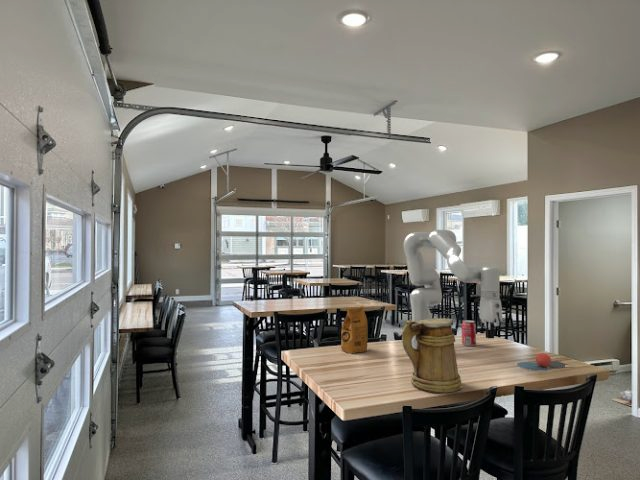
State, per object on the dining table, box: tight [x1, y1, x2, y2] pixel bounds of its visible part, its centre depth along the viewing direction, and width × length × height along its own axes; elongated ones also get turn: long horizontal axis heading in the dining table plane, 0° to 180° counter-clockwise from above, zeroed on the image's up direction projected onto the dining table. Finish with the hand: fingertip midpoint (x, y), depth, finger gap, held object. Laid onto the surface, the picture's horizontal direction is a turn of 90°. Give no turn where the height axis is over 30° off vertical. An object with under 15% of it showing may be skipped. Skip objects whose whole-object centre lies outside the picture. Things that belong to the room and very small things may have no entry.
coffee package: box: [340, 305, 369, 355], centre depth 211 cm, size 10×12×22 cm
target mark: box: [516, 361, 551, 371], centre depth 186 cm, size 13×13×1 cm
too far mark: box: [549, 360, 569, 369], centre depth 188 cm, size 10×10×1 cm
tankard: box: [401, 317, 463, 394], centre depth 158 cm, size 18×24×25 cm
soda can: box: [461, 319, 477, 348], centre depth 225 cm, size 7×7×13 cm
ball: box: [535, 352, 552, 367], centre depth 185 cm, size 6×6×6 cm
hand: (489, 337), depth 181 cm, fingers closed
